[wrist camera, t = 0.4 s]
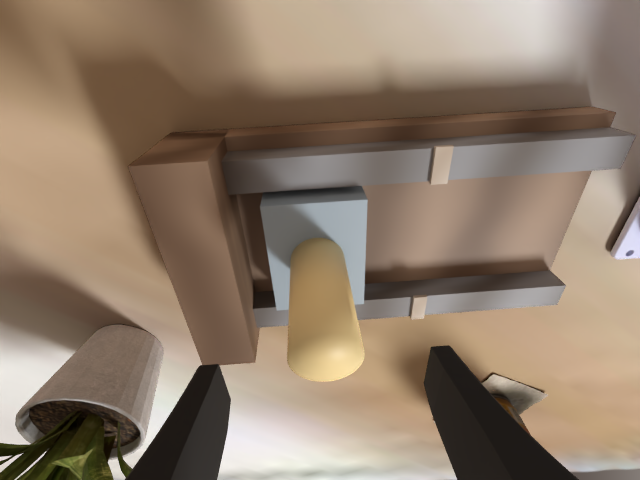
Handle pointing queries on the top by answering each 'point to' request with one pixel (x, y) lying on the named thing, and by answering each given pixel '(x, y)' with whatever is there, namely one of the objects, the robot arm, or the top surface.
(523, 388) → the condiment
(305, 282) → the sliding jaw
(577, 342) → the top surface
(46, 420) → the house plant
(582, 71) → the top surface
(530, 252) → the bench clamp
